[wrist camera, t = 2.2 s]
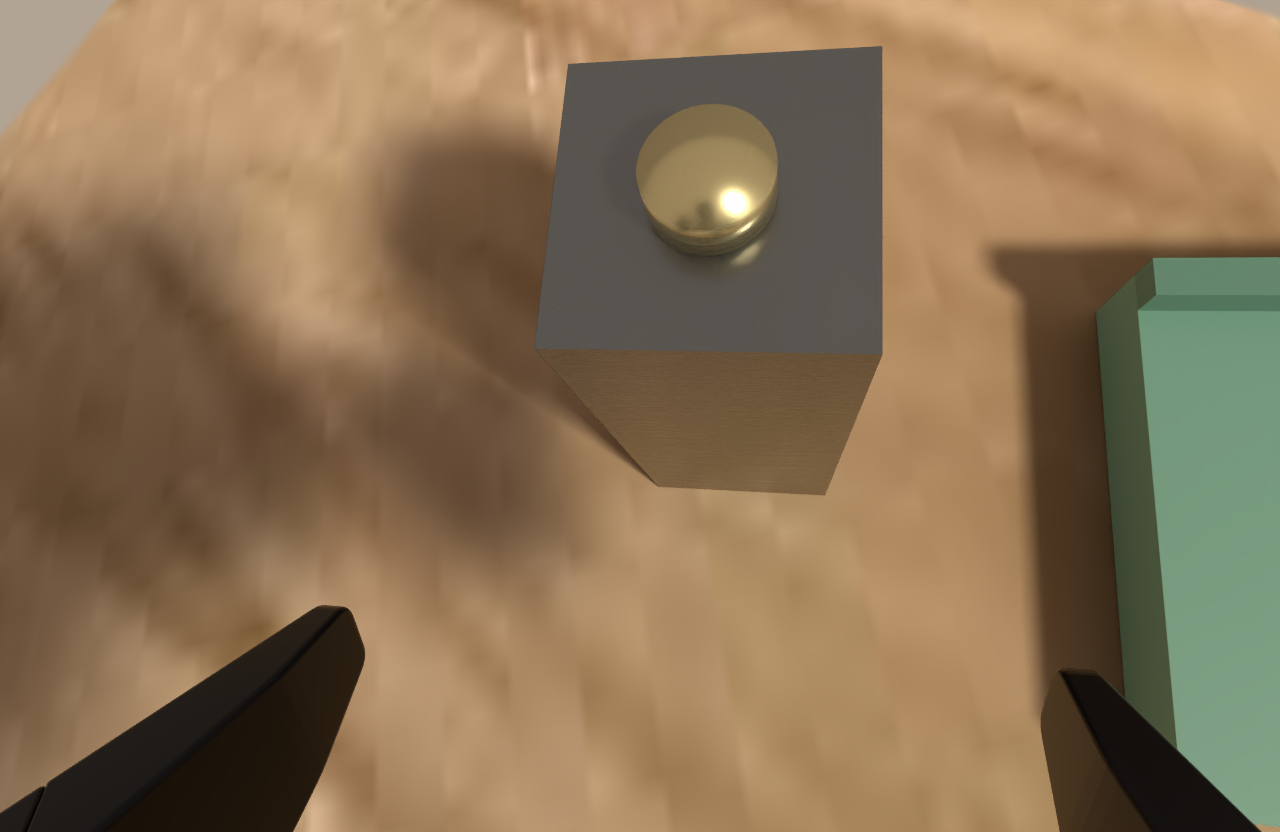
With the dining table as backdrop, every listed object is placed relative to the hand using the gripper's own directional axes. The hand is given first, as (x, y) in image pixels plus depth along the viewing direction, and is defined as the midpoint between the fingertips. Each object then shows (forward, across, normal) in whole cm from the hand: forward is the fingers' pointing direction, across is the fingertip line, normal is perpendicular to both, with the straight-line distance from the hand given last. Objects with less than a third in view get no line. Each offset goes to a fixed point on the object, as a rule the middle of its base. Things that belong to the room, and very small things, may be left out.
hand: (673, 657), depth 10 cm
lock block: (+14, 0, +4) cm, 14 cm away
